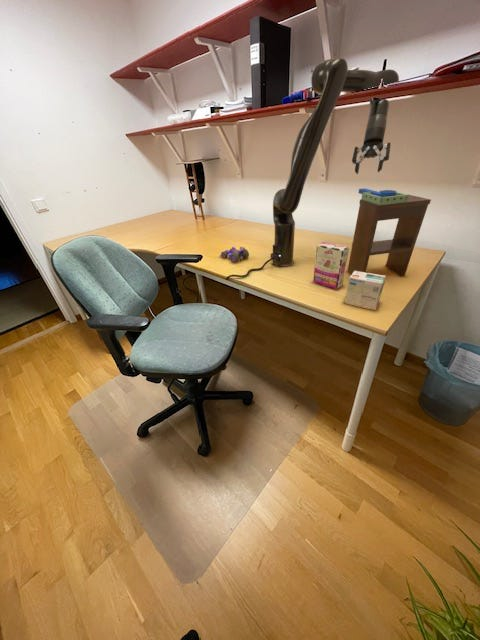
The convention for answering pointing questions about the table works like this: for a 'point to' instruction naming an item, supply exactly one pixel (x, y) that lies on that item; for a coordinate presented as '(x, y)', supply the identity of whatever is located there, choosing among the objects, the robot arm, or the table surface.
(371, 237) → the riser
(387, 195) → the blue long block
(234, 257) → the purple lumpy cluster
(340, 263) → the candy bar box
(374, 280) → the light bulb box
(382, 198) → the green shallow tray
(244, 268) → the table surface
